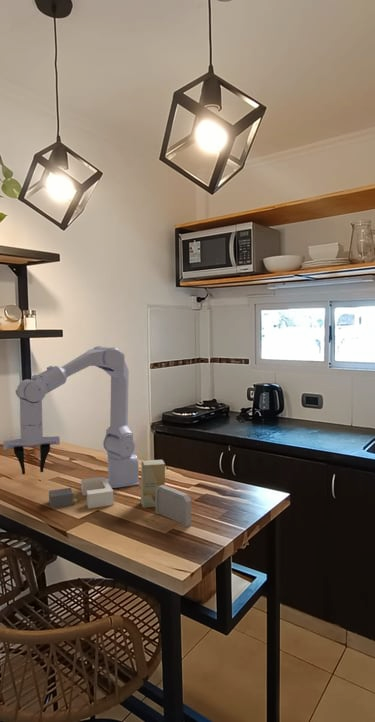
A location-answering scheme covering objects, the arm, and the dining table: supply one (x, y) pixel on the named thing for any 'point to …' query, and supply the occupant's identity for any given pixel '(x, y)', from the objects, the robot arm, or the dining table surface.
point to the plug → (61, 497)
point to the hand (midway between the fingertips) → (32, 472)
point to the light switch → (173, 504)
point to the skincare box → (151, 480)
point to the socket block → (97, 492)
